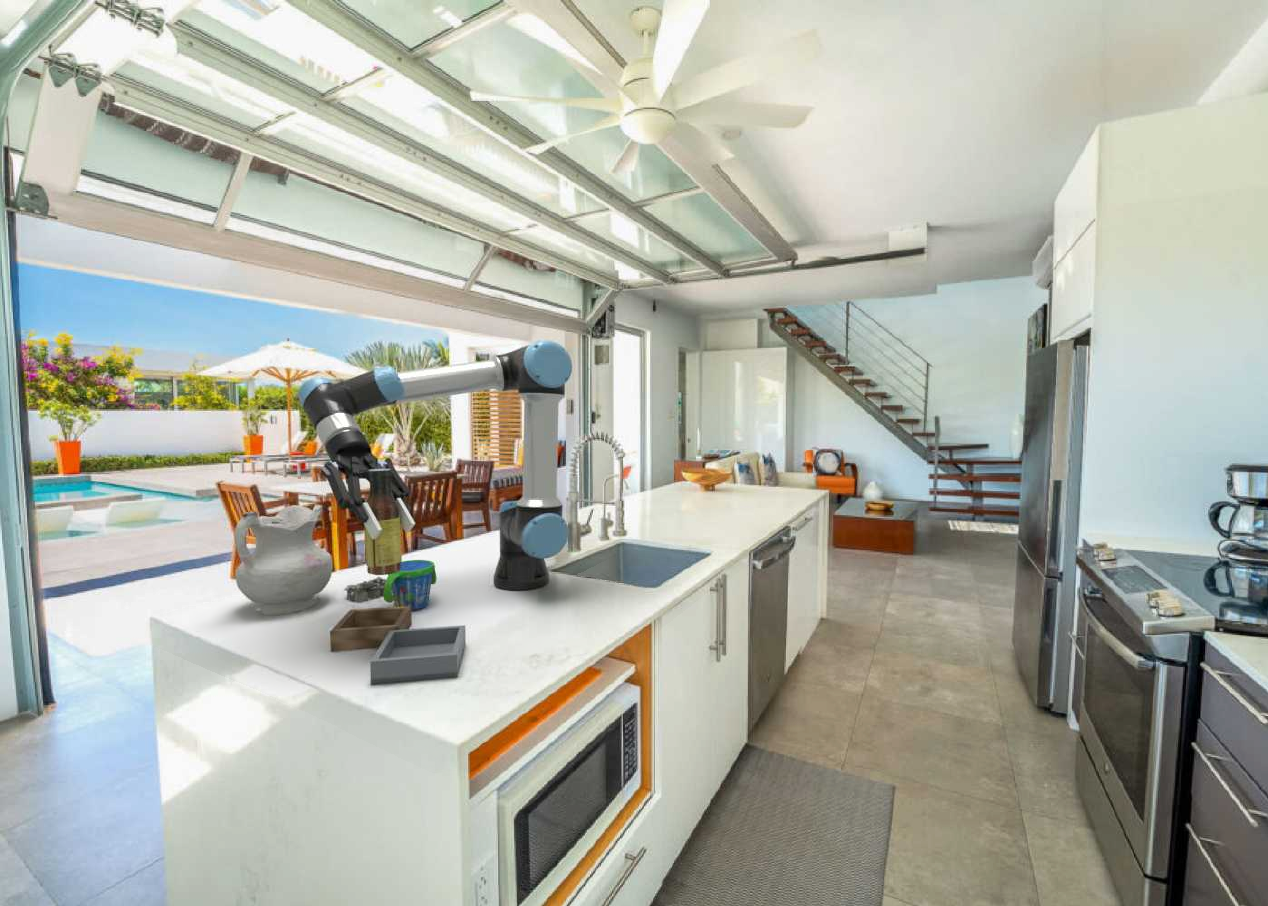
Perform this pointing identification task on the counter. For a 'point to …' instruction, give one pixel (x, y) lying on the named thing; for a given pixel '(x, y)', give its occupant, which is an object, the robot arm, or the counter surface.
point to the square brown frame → (368, 627)
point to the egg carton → (366, 590)
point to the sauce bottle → (383, 526)
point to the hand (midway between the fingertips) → (394, 531)
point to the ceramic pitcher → (282, 560)
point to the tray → (419, 655)
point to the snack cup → (410, 584)
